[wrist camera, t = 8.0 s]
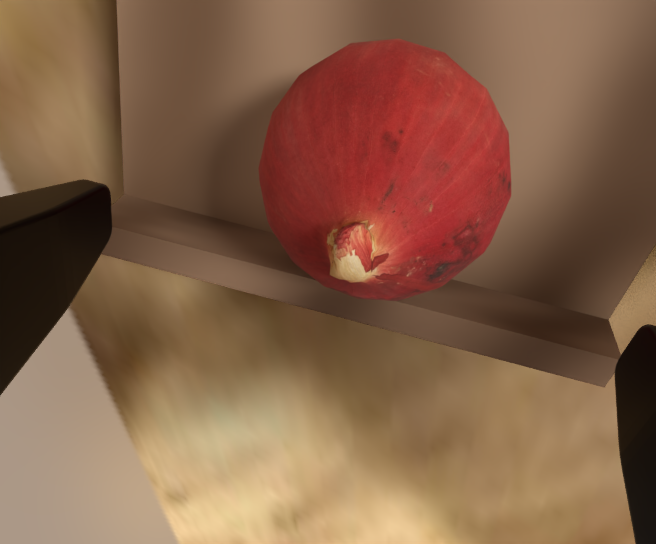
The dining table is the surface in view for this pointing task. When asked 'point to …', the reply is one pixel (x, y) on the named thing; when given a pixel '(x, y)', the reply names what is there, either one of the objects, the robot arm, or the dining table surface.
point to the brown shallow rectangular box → (513, 106)
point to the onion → (385, 170)
